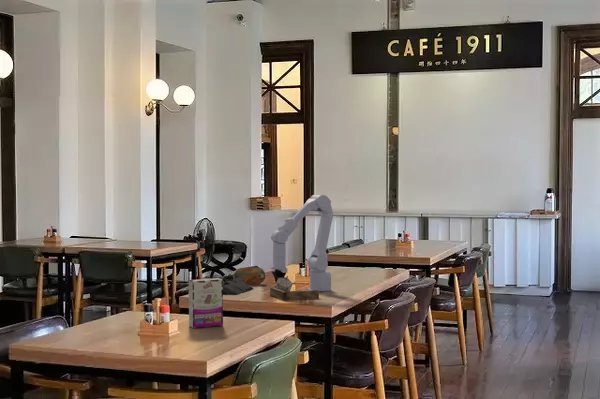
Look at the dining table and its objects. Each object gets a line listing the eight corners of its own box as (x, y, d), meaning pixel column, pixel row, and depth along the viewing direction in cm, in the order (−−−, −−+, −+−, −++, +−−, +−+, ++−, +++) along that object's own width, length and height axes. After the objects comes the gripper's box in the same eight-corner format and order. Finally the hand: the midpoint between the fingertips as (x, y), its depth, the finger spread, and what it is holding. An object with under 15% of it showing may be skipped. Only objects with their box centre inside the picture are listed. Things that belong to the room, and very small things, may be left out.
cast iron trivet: (205, 294, 345) (205, 283, 345) (225, 287, 366) (225, 277, 366) (237, 296, 340) (237, 285, 340) (255, 289, 361) (255, 279, 361)
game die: (286, 303, 343) (292, 287, 337) (269, 295, 344) (274, 279, 338) (292, 290, 350) (298, 274, 345) (274, 283, 351) (280, 267, 345)
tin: (234, 285, 372) (234, 267, 372) (233, 284, 375) (233, 267, 375) (265, 284, 375) (265, 267, 375) (264, 283, 378) (264, 266, 378)
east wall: (273, 295, 341) (273, 287, 341) (286, 300, 328) (287, 292, 328) (270, 295, 341) (270, 287, 340) (283, 300, 327) (283, 292, 327)
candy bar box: (218, 323, 274) (218, 277, 273) (223, 326, 269) (223, 279, 269) (187, 326, 269) (188, 279, 268) (192, 328, 264) (193, 281, 264)
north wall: (317, 297, 335) (317, 289, 335) (318, 298, 334) (318, 290, 334) (282, 299, 328) (282, 291, 328) (283, 300, 327) (283, 292, 327)
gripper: (264, 255, 355) (264, 285, 355) (277, 258, 341) (276, 289, 342) (279, 255, 357) (278, 284, 358) (291, 258, 344) (291, 288, 345)
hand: (278, 287), depth 350 cm, fingers closed
